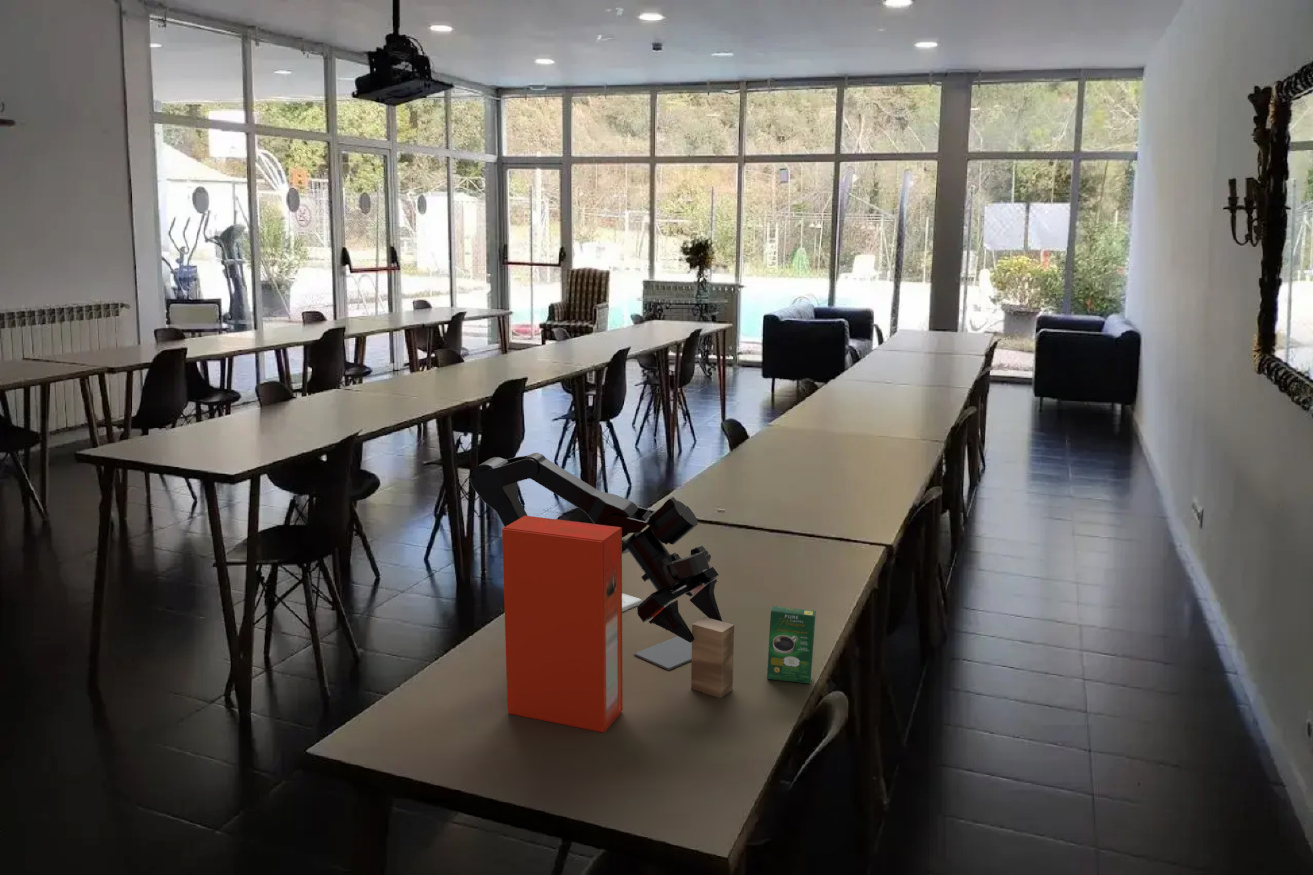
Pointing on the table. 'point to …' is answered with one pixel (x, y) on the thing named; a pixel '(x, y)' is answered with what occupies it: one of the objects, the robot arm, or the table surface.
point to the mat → (668, 653)
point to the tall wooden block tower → (712, 657)
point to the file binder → (563, 621)
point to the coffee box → (791, 644)
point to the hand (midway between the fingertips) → (706, 632)
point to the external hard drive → (629, 602)
